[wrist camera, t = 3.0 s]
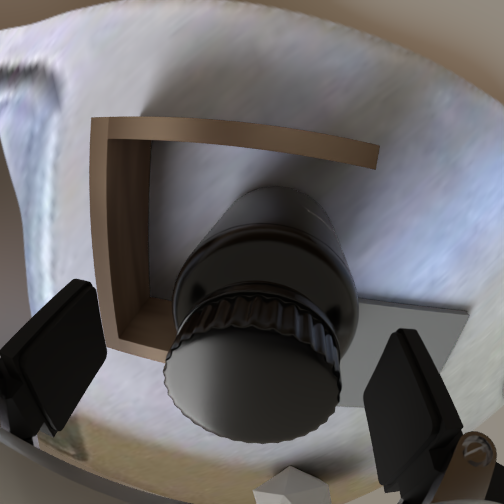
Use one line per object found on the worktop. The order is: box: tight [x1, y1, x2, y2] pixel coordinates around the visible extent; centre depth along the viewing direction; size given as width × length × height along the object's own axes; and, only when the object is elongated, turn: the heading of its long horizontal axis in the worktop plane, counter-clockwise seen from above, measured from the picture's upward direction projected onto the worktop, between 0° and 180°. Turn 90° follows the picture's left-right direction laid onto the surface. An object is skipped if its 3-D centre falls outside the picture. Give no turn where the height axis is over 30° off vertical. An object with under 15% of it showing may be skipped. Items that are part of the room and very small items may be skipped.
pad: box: [337, 298, 470, 408], centre depth 21 cm, size 10×10×1 cm
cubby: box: [89, 117, 380, 363], centre depth 16 cm, size 12×13×5 cm
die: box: [253, 466, 331, 504], centre depth 25 cm, size 8×9×10 cm
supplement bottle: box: [163, 186, 359, 444], centre depth 13 cm, size 7×7×12 cm
